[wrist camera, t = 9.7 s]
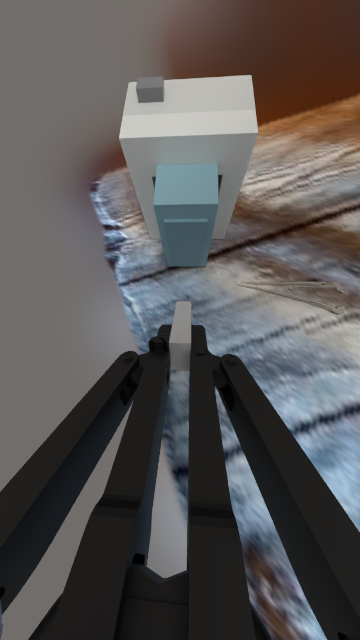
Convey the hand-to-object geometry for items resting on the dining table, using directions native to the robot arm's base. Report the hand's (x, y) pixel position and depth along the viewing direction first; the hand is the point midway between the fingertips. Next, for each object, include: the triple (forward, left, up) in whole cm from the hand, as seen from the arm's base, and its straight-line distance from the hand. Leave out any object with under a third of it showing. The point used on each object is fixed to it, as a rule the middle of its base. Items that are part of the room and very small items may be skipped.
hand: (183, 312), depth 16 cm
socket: (0, -17, -5) cm, 18 cm away
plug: (0, -13, -5) cm, 14 cm away
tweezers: (-13, -5, -6) cm, 16 cm away
